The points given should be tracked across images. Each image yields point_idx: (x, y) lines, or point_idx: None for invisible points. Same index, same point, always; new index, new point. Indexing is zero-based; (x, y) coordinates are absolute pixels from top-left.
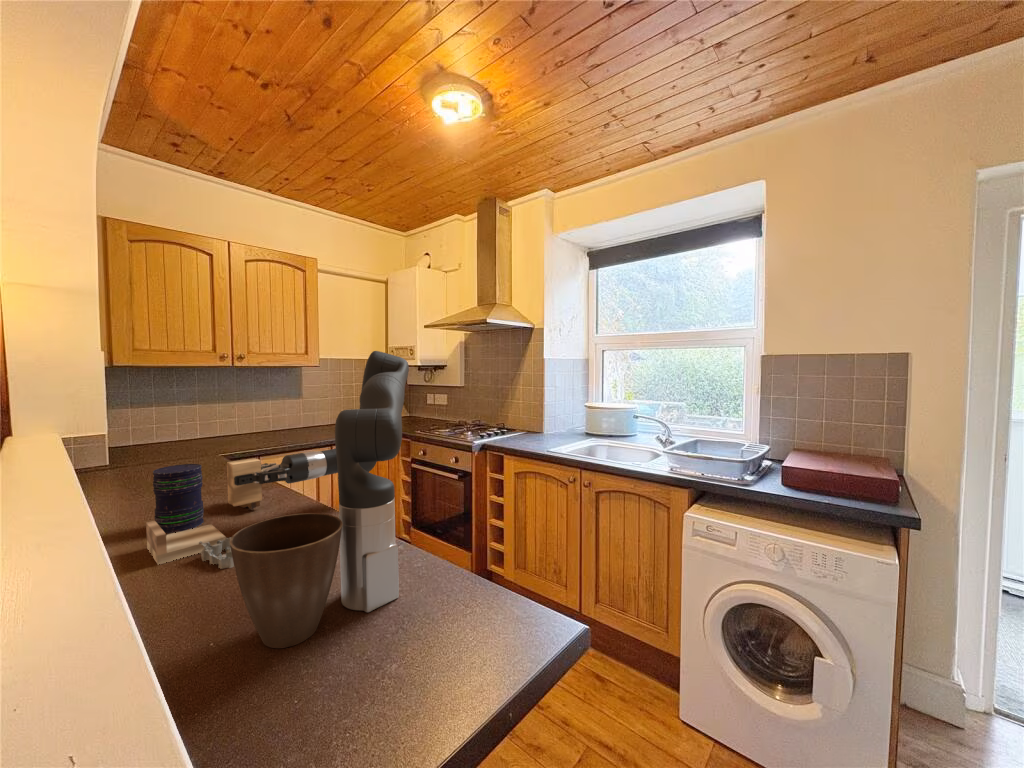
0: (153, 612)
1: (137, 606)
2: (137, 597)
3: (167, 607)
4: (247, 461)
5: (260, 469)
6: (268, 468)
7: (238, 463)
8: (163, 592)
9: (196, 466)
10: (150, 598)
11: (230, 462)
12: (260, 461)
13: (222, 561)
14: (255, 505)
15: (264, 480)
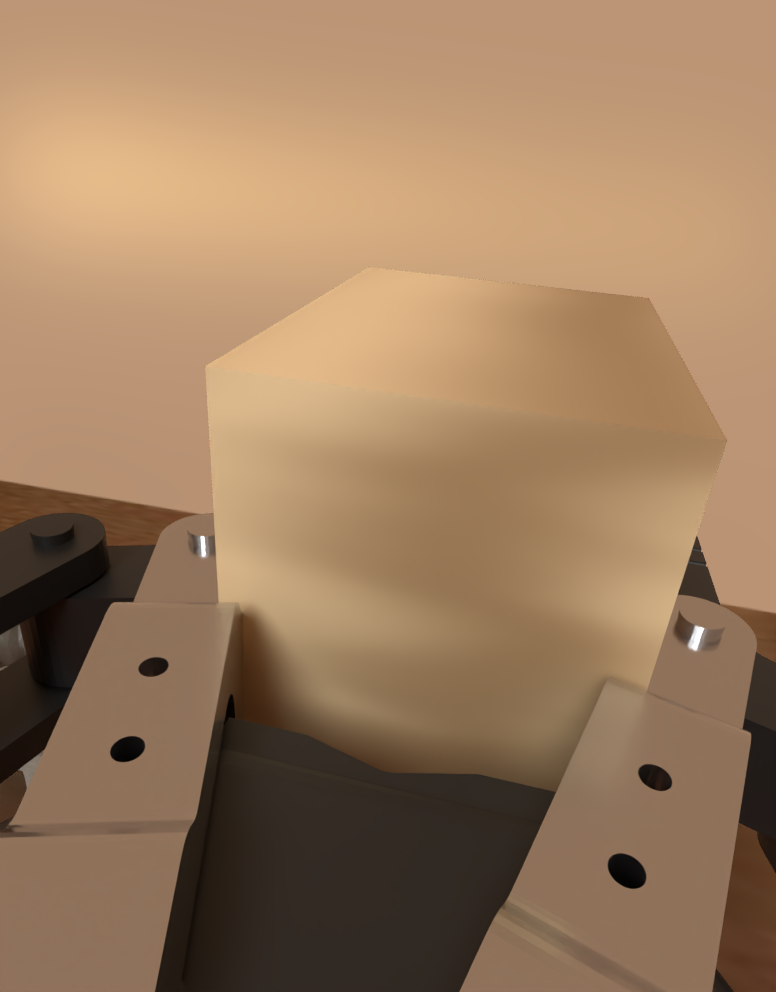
0: (29, 499)
1: (112, 499)
2: (165, 512)
3: (8, 513)
4: (395, 322)
5: (223, 568)
6: (88, 654)
7: (370, 282)
8: (109, 536)
9: None
10: (116, 518)
11: (581, 297)
12: (212, 395)
13: (14, 633)
14: None
15: (26, 662)
